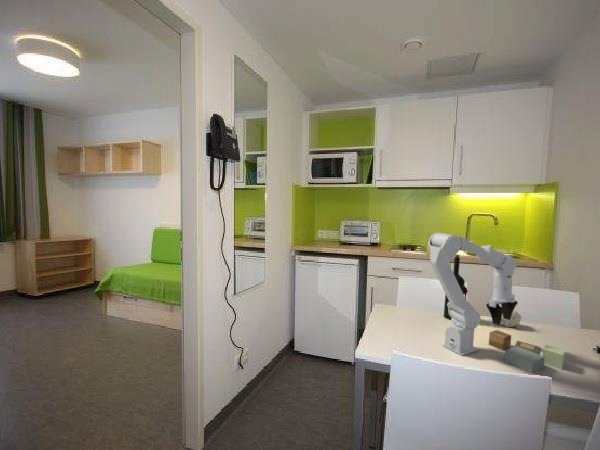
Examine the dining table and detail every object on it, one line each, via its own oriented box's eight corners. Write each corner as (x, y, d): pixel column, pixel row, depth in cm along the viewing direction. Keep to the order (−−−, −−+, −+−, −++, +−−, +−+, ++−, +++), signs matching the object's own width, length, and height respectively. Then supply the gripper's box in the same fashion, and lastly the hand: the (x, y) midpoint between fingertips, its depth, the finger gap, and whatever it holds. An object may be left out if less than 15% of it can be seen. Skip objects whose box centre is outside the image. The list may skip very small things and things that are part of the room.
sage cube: (561, 369, 96) (563, 355, 95) (542, 363, 99) (543, 349, 99) (563, 364, 99) (565, 350, 99) (544, 358, 103) (546, 344, 102)
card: (538, 354, 105) (538, 352, 105) (514, 347, 110) (514, 346, 110) (540, 347, 110) (540, 346, 110) (517, 341, 115) (517, 340, 115)
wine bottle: (469, 323, 132) (474, 257, 130) (445, 319, 135) (449, 255, 133) (465, 316, 140) (470, 254, 137) (442, 313, 143) (446, 252, 140)
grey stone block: (493, 326, 131) (507, 314, 125) (492, 311, 138) (505, 299, 131) (512, 334, 130) (527, 323, 123) (510, 319, 136) (524, 308, 130)
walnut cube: (502, 350, 107) (503, 337, 107) (488, 344, 112) (489, 332, 111) (510, 348, 110) (511, 335, 109) (496, 342, 114) (497, 329, 114)
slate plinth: (531, 374, 93) (532, 362, 92) (504, 362, 100) (504, 350, 99) (543, 368, 97) (544, 356, 96) (516, 356, 104) (517, 346, 103)
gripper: (504, 292, 102) (503, 330, 103) (524, 285, 109) (523, 320, 110) (483, 287, 108) (482, 323, 109) (503, 280, 115) (502, 314, 116)
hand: (501, 321), depth 110 cm, fingers open, 7 cm apart
